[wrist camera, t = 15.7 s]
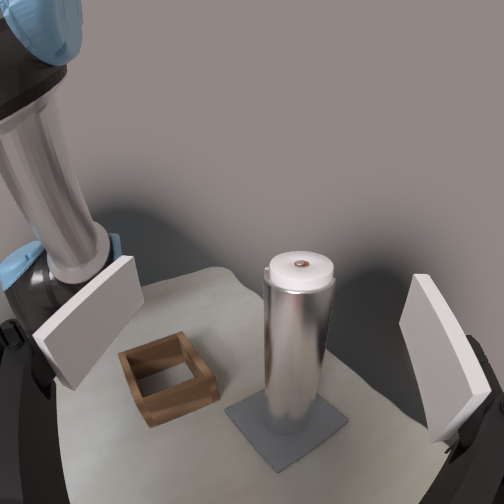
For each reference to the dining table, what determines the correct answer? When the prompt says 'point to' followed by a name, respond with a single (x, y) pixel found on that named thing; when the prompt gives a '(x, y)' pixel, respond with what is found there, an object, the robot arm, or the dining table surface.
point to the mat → (284, 447)
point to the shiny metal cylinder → (295, 336)
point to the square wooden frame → (174, 398)
